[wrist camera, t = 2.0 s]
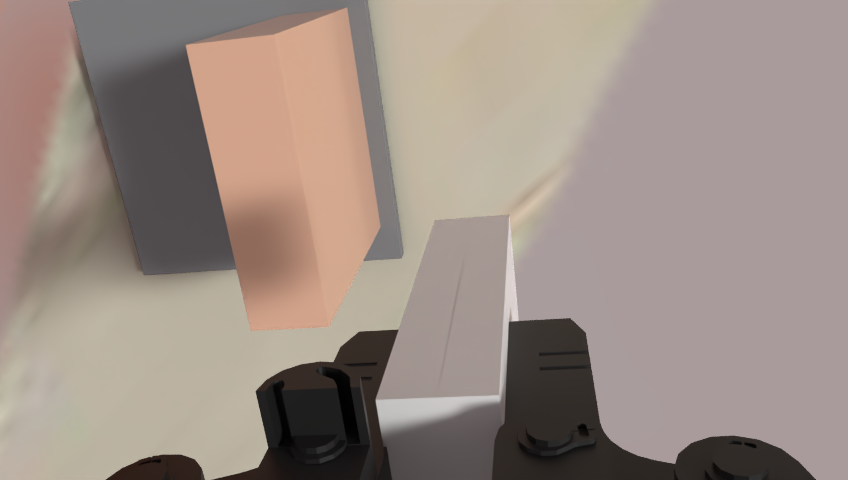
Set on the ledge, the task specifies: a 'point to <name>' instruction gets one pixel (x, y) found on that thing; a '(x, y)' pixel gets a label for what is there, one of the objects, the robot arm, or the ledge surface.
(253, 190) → the block
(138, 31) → the mat
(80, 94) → the ledge surface
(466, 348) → the robot arm
